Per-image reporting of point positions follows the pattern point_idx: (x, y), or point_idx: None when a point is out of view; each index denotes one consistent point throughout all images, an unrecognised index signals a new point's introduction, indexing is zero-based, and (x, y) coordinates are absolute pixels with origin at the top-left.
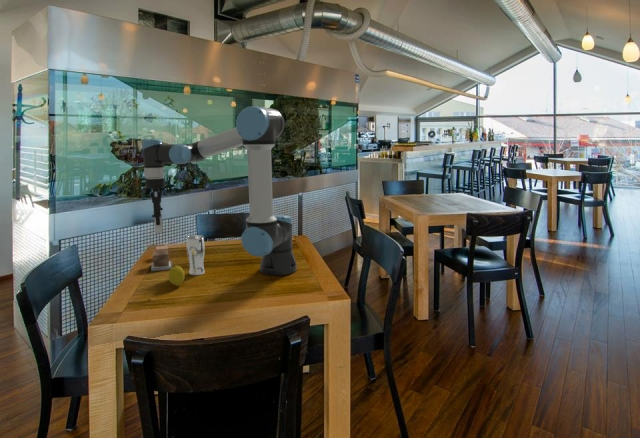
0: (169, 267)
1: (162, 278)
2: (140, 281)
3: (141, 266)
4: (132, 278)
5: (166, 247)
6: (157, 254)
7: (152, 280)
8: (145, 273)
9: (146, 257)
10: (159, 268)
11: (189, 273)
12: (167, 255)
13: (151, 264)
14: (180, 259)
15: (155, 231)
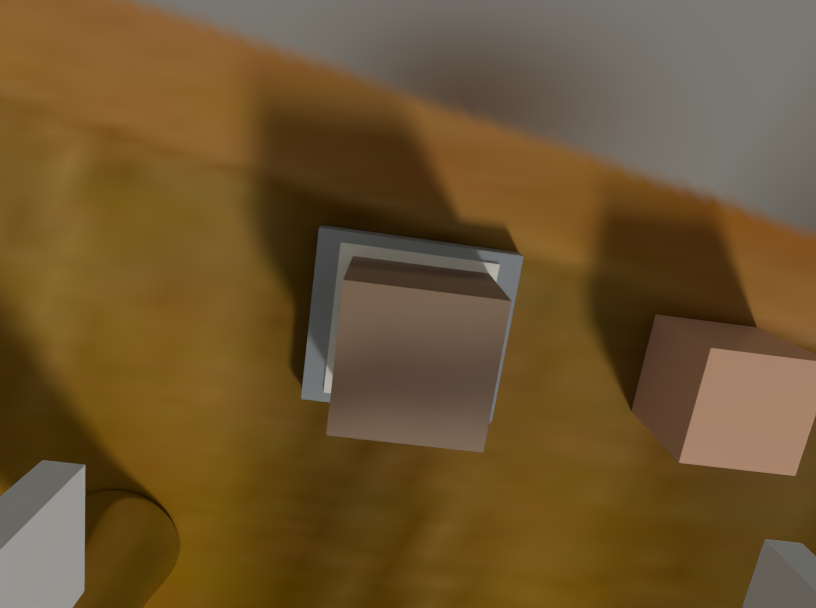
0: (303, 380)
1: (77, 286)
2: (57, 103)
3: (521, 160)
4: (173, 42)
5: (729, 453)
6: (368, 332)
7: (50, 204)
8: (280, 170)
9: (804, 237)
10: (312, 299)
11: (105, 492)
12: (328, 421)
13: (463, 248)
14: (561, 492)
15: (16, 488)
